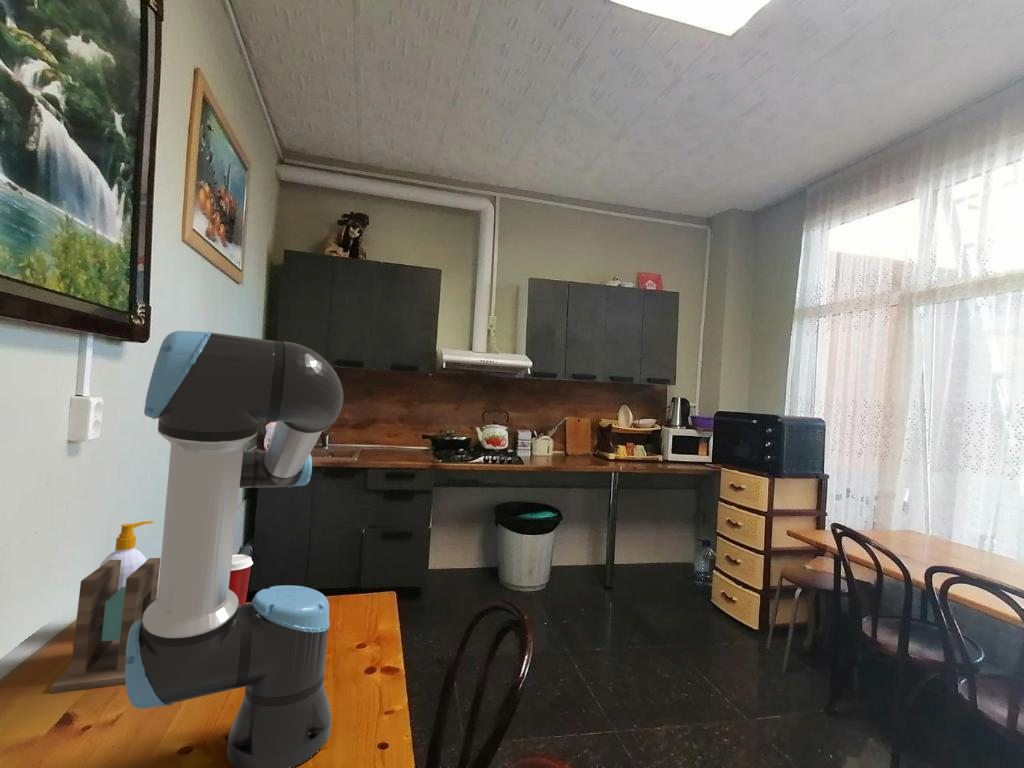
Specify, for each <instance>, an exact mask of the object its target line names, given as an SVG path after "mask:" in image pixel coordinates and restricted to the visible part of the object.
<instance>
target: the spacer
mask: <svg viewBox="0 0 1024 768" xmlns="http://www.w3.org/2000/svg"><path fill="white" fill-rule="evenodd" d="M125 588H126V587H122V588H120V589H119V590H118V591H117V592H116V593H115V594H114V595H113V596H111V597H110V598H109V599H108V600H107V601H106V602H105V612H104V621H103V631H102V641H110V640H120V634H121V625H122V616H123V606H124V597H125Z"/></svg>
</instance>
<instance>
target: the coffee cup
mask: <svg viewBox="0 0 1024 768" xmlns="http://www.w3.org/2000/svg"><path fill="white" fill-rule="evenodd" d="M252 565H254V561H253V560H252V557H251V556H249V555H247V554H232V561H231V570H230V580H229V589H230V590H231V591H233V592H234V593H235V594H236V596H237V597H238V605H244V604H247V603H246V602H247V601H246V600H247V595H248V589H249V582H250V576H251V569H252Z"/></svg>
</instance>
